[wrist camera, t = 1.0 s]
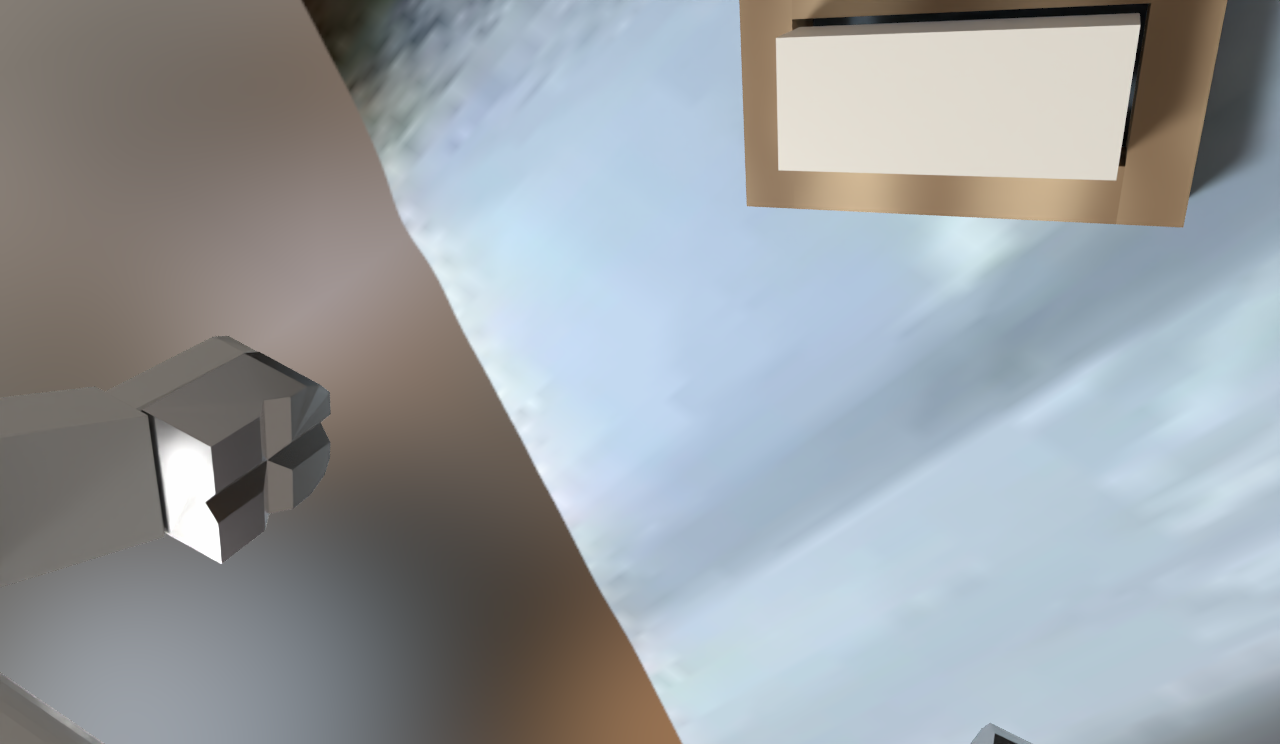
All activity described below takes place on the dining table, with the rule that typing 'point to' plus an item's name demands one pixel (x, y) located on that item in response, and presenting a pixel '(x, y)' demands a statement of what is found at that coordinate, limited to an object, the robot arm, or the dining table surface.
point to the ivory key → (958, 97)
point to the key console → (1141, 194)
